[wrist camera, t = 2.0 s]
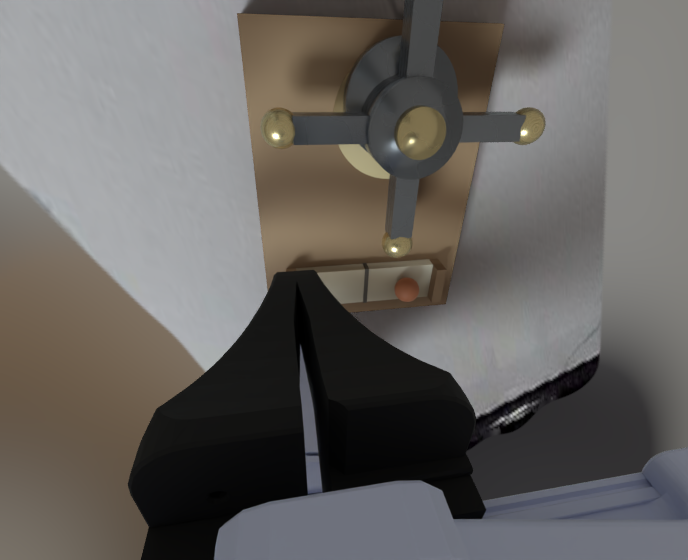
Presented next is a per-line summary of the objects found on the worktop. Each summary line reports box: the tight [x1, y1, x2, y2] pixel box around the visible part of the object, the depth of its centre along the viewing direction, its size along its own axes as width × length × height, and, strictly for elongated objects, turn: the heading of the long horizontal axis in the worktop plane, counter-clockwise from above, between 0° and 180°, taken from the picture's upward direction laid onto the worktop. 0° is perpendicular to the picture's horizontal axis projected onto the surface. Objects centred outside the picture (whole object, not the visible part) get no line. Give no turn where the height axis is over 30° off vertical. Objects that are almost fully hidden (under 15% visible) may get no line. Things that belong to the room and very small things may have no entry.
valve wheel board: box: [237, 13, 504, 313], centre depth 20 cm, size 16×12×4 cm
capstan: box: [260, 0, 545, 258], centre depth 16 cm, size 13×13×4 cm
